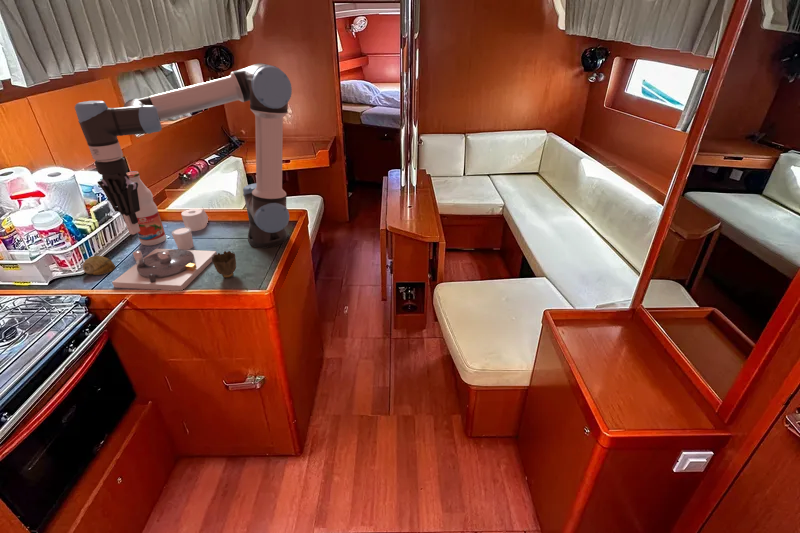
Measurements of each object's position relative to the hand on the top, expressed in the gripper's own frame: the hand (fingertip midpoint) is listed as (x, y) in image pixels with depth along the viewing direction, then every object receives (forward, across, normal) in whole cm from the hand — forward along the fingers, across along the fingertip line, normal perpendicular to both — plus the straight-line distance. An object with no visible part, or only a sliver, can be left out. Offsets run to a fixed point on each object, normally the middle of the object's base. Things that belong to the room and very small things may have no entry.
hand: (135, 232), depth 134 cm
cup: (+19, +23, +10) cm, 31 cm away
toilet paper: (+19, -15, +43) cm, 50 cm away
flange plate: (+16, +1, +7) cm, 18 cm away
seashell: (+19, -23, +1) cm, 30 cm away
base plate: (+18, 0, +8) cm, 20 cm away
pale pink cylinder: (+19, -7, +25) cm, 32 cm away
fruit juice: (+19, -24, +26) cm, 39 cm away
